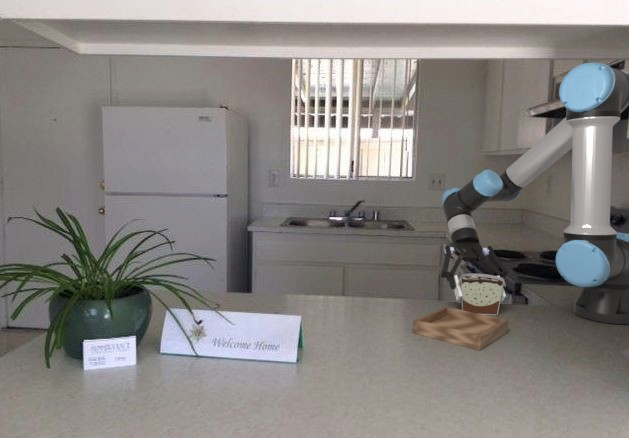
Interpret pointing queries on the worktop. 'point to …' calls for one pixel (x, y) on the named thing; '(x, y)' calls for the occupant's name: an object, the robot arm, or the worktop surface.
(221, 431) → the worktop surface
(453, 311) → the walnut pocket tray
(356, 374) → the worktop surface
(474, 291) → the food container
